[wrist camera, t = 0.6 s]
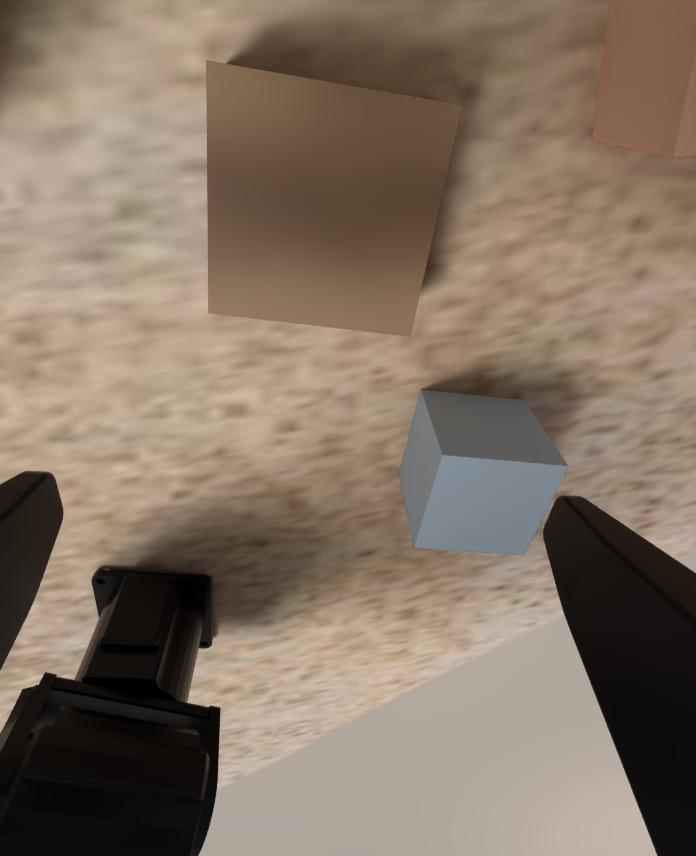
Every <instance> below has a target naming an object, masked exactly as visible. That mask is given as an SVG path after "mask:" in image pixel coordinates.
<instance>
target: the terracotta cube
mask: <svg viewBox="0 0 696 856" xmlns="http://www.w3.org/2000/svg"><path fill="white" fill-rule="evenodd" d="M591 141H593V142H598V143H602V144H607V145H612V146H617V147H621V148H626V149H631V150H635V151H640V152H645V153H650V154H654V155H659V156H664V157H669V158H679V157H687V156H694V155H696V0H610V5H609V13H608V20H607V28H606V35H605V42H604V50H603V57H602V65H601V72H600V80H599V87H598V95H597V102H596V110H595V117H594V124H593V132H592V139H591Z"/></svg>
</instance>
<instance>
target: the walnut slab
mask: <svg viewBox="0 0 696 856" xmlns="http://www.w3.org/2000/svg"><path fill="white" fill-rule="evenodd" d="M206 78H207V194H208V310H209V313H212V314H220V315H229V316H237V317H246V318H254V319H263V320H271V321H280V322H289V323H297V324H306V325H314V326H323V327H331V328H340V329H349V330H357V331H366V332H374V333H383V334H391V335H400V336H409V337H410V335H411V331H412V326H413V322H414V317H415V313H416V309H417V304H418V300H419V295H420V291H421V287H422V282H423V278H424V274H425V269H426V265H427V260H428V256H429V252H430V247H431V243H432V238H433V234H434V230H435V225H436V221H437V216H438V212H439V208H440V203H441V199H442V195H443V190H444V186H445V181H446V177H447V173H448V168H449V164H450V159H451V155H452V151H453V146H454V142H455V137H456V133H457V129H458V124H459V120H460V116H461V111H462V107H463V105H459V104H453V103H448V102H442V101H436V100H431V99H425V98H419V97H413V96H408V95H402V94H396V93H390V92H385V91H379V90H373V89H368V88H362V87H356V86H350V85H345V84H339V83H333V82H327V81H322V80H316V79H310V78H305V77H299V76H293V75H287V74H282V73H276V72H270V71H265V70H259V69H253V68H247V67H242V66H236V65H230V64H224V63H219V62H213V61H207V60H206Z"/></svg>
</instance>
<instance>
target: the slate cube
mask: <svg viewBox="0 0 696 856" xmlns="http://www.w3.org/2000/svg"><path fill="white" fill-rule="evenodd" d="M567 468H568V465H567V463H566V462H565V460H564V459H563V457H562V456H561V454H560V453H559V451H558V450H557V448H556V447H555V445H554V444H553V442H552V440H551V439H550V437H549V436H548V434H547V433H546V431H545V430H544V428H543V427H542V425H541V424H540V422H539V421H538V419H537V418H536V416H535V414H534V413H533V411H532V410H531V408H530V407H529V405H528V404H527V402H526V401H525V400H519V399H509V398H499V397H490V396H480V395H470V394H461V393H451V392H441V391H432V390H422V389H421V390H420V394H419V398H418V402H417V406H416V410H415V413H414V417H413V421H412V425H411V429H410V433H409V437H408V441H407V445H406V448H405V452H404V456H403V460H402V464H401V468H400V472H399V478H400V483H401V488H402V493H403V497H404V502H405V507H406V512H407V517H408V522H409V527H410V531H411V536H412V541H413V546H414V548H422V549H438V550H453V551H469V552H484V553H500V554H515V555H525V554H526V552H527V549H528V547H529V545H530V543H531V541H532V539H533V537H534V535H535V533H536V531H537V529H538V527H539V525H540V523H541V521H542V519H543V517H544V515H545V513H546V511H547V509H548V507H549V505H550V502H551V500H552V498H553V496H554V494H555V492H556V490H557V488H558V486H559V484H560V482H561V480H562V478H563V476H564V474H565V472H566V470H567Z"/></svg>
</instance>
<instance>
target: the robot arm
mask: <svg viewBox="0 0 696 856" xmlns="http://www.w3.org/2000/svg"><path fill="white" fill-rule="evenodd" d="M62 520H63V506H62V502H61V498H60V495H59V491H58V487H57V483H56V480H55V477H54V476H53V474H51V473H49V472H41V471H25V472H22V473H20V474H18V475H16V476H15V477H13V478H11V479H9V480H7V481H6V482H4V483H2V484H0V670H1V668H2V666H3V664H4V662H5V660H6V658H7V656H8V654H9V652H10V650H11V648H12V646H13V644H14V642H15V640H16V638H17V636H18V634H19V632H20V629H21V627H22V625H23V623H24V621H25V619H26V617H27V615H28V613H29V611H30V609H31V606H32V604H33V602H34V599H35V597H36V594H37V592H38V589H39V586H40V583H41V580H42V578H43V575H44V572H45V569H46V566H47V563H48V561H49V558H50V555H51V552H52V549H53V546H54V543H55V541H56V538H57V535H58V532H59V529H60V526H61V524H62ZM543 538H544V543H545V546H546V550H547V554H548V557H549V561H550V565H551V569H552V572H553V576H554V580H555V584H556V587H557V591H558V595H559V598H560V602H561V605H562V609H563V612H564V615H565V617H566V620H567V623H568V626H569V628H570V631H571V634H572V636H573V639H574V641H575V644H576V646H577V649H578V652H579V654H580V657H581V659H582V662H583V665H584V667H585V670H586V672H587V675H588V677H589V680H590V683H591V685H592V687H593V690H594V693H595V695H596V698H597V701H598V703H599V706H600V708H601V711H602V714H603V716H604V719H605V721H606V724H607V727H608V729H609V732H610V734H611V737H612V739H613V742H614V745H615V747H616V750H617V752H618V755H619V758H620V760H621V763H622V765H623V768H624V770H625V773H626V776H627V778H628V781H629V783H630V786H631V788H632V791H633V794H634V796H635V799H636V801H637V804H638V807H639V809H640V812H641V814H642V817H643V819H644V822H645V825H646V827H647V830H648V833H649V835H650V837H651V840H652V843H653V845H654V848H655V851H656V853H657V856H696V573H695V572H693V571H692V570H690V569H688V568H687V567H686V566H684V565H683V564H681V563H680V562H678V561H677V560H675V559H674V558H672V557H671V556H669V555H668V554H666V553H665V552H663V551H662V550H660V549H659V548H657V547H656V546H655V545H653V544H652V543H650V542H649V541H647V540H646V539H644V538H643V537H641V536H640V535H638V534H637V533H635V532H634V531H632V530H631V529H629V528H628V527H626V526H625V525H623V524H622V523H620V522H619V521H617V520H616V519H614V518H613V517H612V516H610V515H609V514H607V513H606V512H604V511H603V510H601V509H600V508H598V507H597V506H595V505H594V504H592V503H591V502H589V501H588V500H586V499H585V498H583V497H580V496H566V495H563V496H559V497H558V498H557V499H556V501H555V503H554V505H553V507H552V510H551V512H550V514H549V517H548V519H547V521H546V523H545V526H544V530H543ZM92 586H93V591H94V595H95V600H96V605H97V610H98V615H99V621H98V623H97V626H96V628H95V631H94V633H93V635H92V638H91V640H90V643H89V645H88V648H87V650H86V653H85V655H84V657H83V660H82V662H81V665H80V667H79V670H78V672H77V675H76V677H75V680H71V679H66V678H61V677H56V676H57V674H52V673H47V672H45V674H44V676H43V678H42V680H41V682H40V684H39V685H36V686H34V687H30V688H26V689H23V690H22V692H21V694H20V696H19V698H18V700H17V702H16V704H15V706H14V708H13V710H12V712H11V714H10V716H9V718H8V720H7V722H6V724H5V726H4V728H3V729H2V731H1V733H0V856H198V855H199V853H200V851H201V849H202V846H203V843H204V841H205V838H206V835H207V831H208V829H209V825H210V821H211V817H212V813H213V808H214V803H215V797H216V791H217V780H218V756H219V730H220V707H215V706H209V707H205V706H200V705H195V704H190V703H187V700H188V696H189V691H190V686H191V681H192V677H193V672H194V667H195V663H196V658H197V653H198V648H209V647H210V646H211V645H212V640H213V582H212V579H211V578H210V577H208V576H204V575H186V574H168V573H150V572H132V571H113V570H98V571H96V572H95V573H94V575H93V577H92Z"/></svg>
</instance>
